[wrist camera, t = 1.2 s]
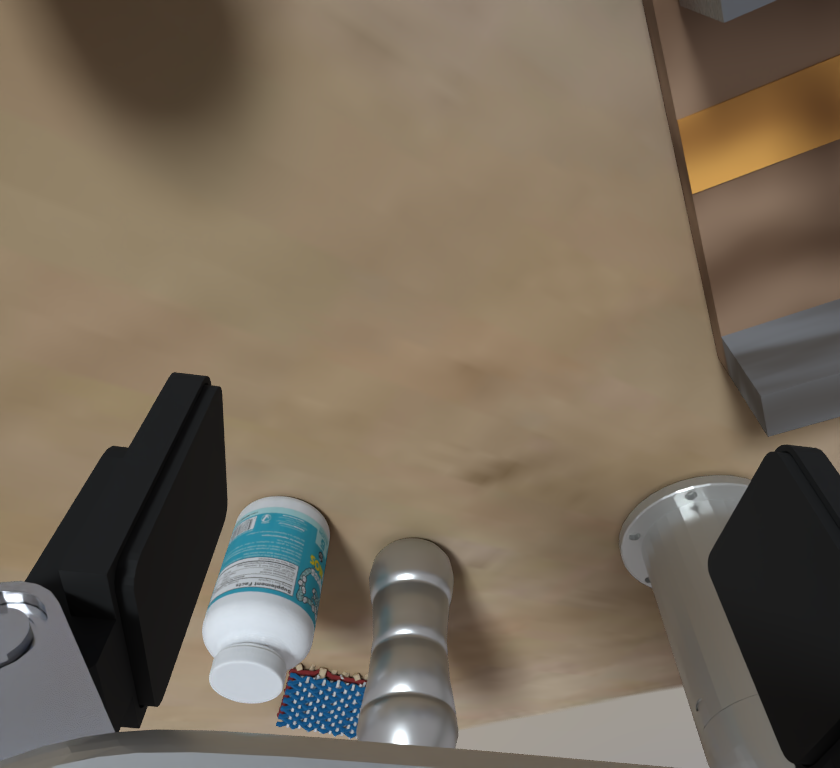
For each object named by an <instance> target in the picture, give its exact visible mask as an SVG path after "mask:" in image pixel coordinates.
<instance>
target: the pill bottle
mask: <svg viewBox="0 0 840 768" xmlns="http://www.w3.org/2000/svg"><path fill="white" fill-rule="evenodd" d="M329 540H330V531H329V527H328V524H327V521H326V520H325V518H324V516H323V515H322V514H321V513H320V512H319V511H318V510H317V509H316V508H314V507H313V506H311V505H310V504H308V503H306V502H304V501H302V500H299V499H296V498H292V497H285V496H271V497H265V498H261V499H259V500H256V501H254V502H252V503H251V504H249V505H248V506H247V507H246V508H245V509H244V510H243V511H242V512H241V513H240V515H239V517H238V519H237V522H236V525H235V527H234V530H233V533H232V536H231V540H230V543H229V546H228V549H227V552H226V555H225V557H224V560H223V564H222V567H221V570H220V573H219V576H218V579H217V582H216V585H215V588H214V591H213V594H212V597H211V600H210V603H209V606H208V609H207V612H206V616H205V619H204V622H203V628H202V634H203V640H204V643H205V645H206V647H207V649H208V651H209V652H210V654H211V655H212V656H213V657H214V660H213V664H212V668H211V671H210V676H209V681H210V684H211V686H212V688H213V689H214V690H215V691H216V692H217V693H218V694H220V695H221V696H223V697H225V698H227V699H230V700H233V701H236V702H241V703H262V702H266V701H269V700H272V699H274V698H276V697H277V696H278V695H279V694H280V693H281V691H282V689H283V686H284V682H285V677H286V672H287V670H289V669H292V668H293V667H295V666H296V665H298V664H299V663H300V662H301V661H302V660H303V659H304V658H305V657H306V656H307V654H308V653H309V651H310V649H311V646H312V642H313V637H314V631H315V625H316V619H317V613H318V607H319V601H320V595H321V589H322V583H323V577H324V571H325V566H326V559H327V553H328V547H329Z"/></svg>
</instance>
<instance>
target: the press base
mask: <svg viewBox="0 0 840 768" xmlns="http://www.w3.org/2000/svg"><path fill="white" fill-rule="evenodd" d="M642 1H643V6H644V11H645V15H646V20H647V25H648V29H649V34H650V39H651V44H652V48H653V53H654V58H655V62H656V67H657V72H658V77H659V81H660V86H661V91H662V95H663V100H664V105H665V109H666V114H667V119H668V124H669V128H670V133H671V138H672V142H673V147H674V152H675V157H676V161H677V166H678V171H679V175H680V180H681V185H682V190H683V194H684V199H685V204H686V208H687V213H688V218H689V223H690V227H691V232H692V237H693V241H694V246H695V251H696V255H697V260H698V265H699V270H700V274H701V279H702V284H703V288H704V293H705V298H706V303H707V307H708V312H709V317H710V321H711V326H712V331H713V336H714V340H715V345H716V350H717V354H718V358H719V360H720V361H721V363H722V364H723V366H724V368H725V369H726V371H727V372H728V374H729V375H730V377H731V379H732V380H733V382H734V383H735V385H736V387H737V388H738V390H739V391H740V393H741V395H742V396H743V398H744V399H745V401H746V403H747V404H748V406H749V407H750V409H751V410H752V412H753V414H754V415H755V417H756V418H757V420H758V422H759V423H760V425H761V426H762V428H763V430H764V431H765V433H766V434H767V436H768V437H769V436H772V435H776V434H780V433H783V432H787V431H790V430H794V429H797V428H801V427H804V426H808V425H812V424H815V423H819V422H822V421H826V420H829V419H833V418H836V417H840V0H776V1H774V2H771V3H769V4H767V5H764V6H762V7H760V8H758V9H755V10H753V11H751V12H748V13H746V14H744V15H741V16H739V17H737V18H734V19H732V20H730V21H728V22H725V23H723V22H720V21H718V20H715V19H713V18H710V17H708V16H705V15H702V14H700V13H697V12H695V11H692V10H690V9H687V8H685V7H682V6H680V2H679V0H642Z"/></svg>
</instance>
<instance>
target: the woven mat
mask: <svg viewBox="0 0 840 768" xmlns="http://www.w3.org/2000/svg"><path fill="white" fill-rule="evenodd" d="M302 669H303V666H302V664H301V663H300V664H298V665H296V668H295V669H291V670H290V671H289V674H290V676H289V677H288V682H287V685H286V689H284V692H285V695H283V699H282V703H281V707H280V709H279V713H277V717H278V719H281V720H282V721H283V722H278V721H277V723H276V726H279V727H282V726H286V727H289V726H290V728H291V729H292V730H294V729H295V728H298V729H300V728H301V727H302V728H304V729H305V730H307V732H310V731H312V730H314V732H316V731H319V733H322V734H324V733H327V732H328V734H331V733H332V734H333V735H334V737H336V735H339V734H340V736H343V734H345V735H346V736H348V739H351V738H353V737H355V738H357V734H356V730H357V724H358V718H359V713H360V709H361V705H362V701H363V696H364V692H365V688H366V684H367V679H368V674H366V676H365V677H364V680H360V674H359V673H355V674H354V675H353V678H348V676H349V672H343V673H342V675H340V676H337V675H336V673H337V671H336V670H332V671H331V673H330V672H329V671H327V669H326V668H322V667H320V669H318V670H316V671H314V670H315V665H311V667H310V669H309V671H308V670H302ZM314 676H315V677H314ZM325 676H327V677H329V679H326V678H325ZM323 693H324V694H323ZM343 701H344V702H343ZM318 702H319V703H318ZM304 713H306V714H304ZM296 723H297V724H296ZM307 725H308V726H307ZM311 725H312V726H311ZM334 725H335V726H334ZM320 726H321V727H320ZM323 728H324V729H323ZM349 732H350V733H349ZM354 732H355V733H354Z"/></svg>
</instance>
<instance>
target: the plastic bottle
mask: <svg viewBox="0 0 840 768" xmlns="http://www.w3.org/2000/svg"><path fill="white" fill-rule="evenodd" d="M369 584H370V596H371V602H372V613H373V643H372V650H371V658H370V665H369V673H368V679H367V684H366V688H365V692H364V696H363V701H362V705H361V709H360V713H359V718H358V724H357V730H356V734H357V739H358V741H369V742H381V743H393V744H405V745H418V746H430V747H442V748H454V749H455V746H456V743H457V739H458V725H457V717H456V711H455V705H454V699H453V694H452V688H451V682H450V676H449V663H448V650H447V632H448V617H449V606H450V603H451V599H452V593H453V585H454V576H453V571H452V567H451V563H450V560H449V558H448V556H447V555H446V554H445V553H444V552H443V551H442V550H441V549H440V548H439V547H438V546H437V545H435V544H434V543H432V542H430V541H427V540H424V539H418V538H405V539H400V540H397V541H394V542H392V543H390V544H388V545H387V546H386V547H384V548H383V549H382V550H381V551H380V552H379V553H378V554H377V556H376V557H375V559H374V562H373V565H372V569H371V572H370V577H369Z"/></svg>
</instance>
